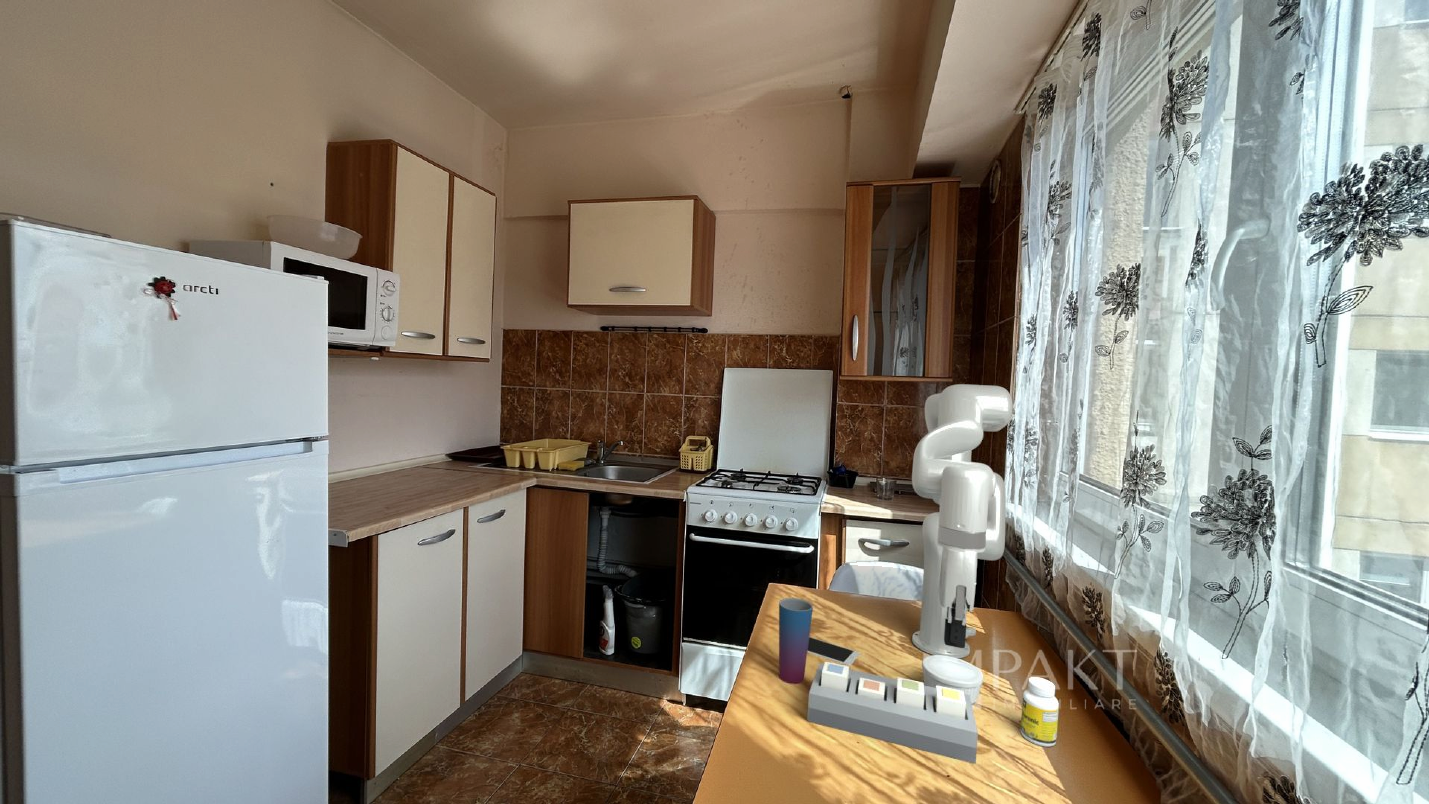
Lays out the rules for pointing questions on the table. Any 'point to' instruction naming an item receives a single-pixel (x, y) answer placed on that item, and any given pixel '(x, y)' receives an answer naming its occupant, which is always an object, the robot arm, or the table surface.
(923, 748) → the keypad
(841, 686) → the key slate
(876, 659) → the table surface
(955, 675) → the ramekin
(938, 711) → the key mustard
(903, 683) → the key olive
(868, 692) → the key terracotta
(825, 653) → the smartphone
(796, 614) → the cup
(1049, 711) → the supplement bottle
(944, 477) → the robot arm
